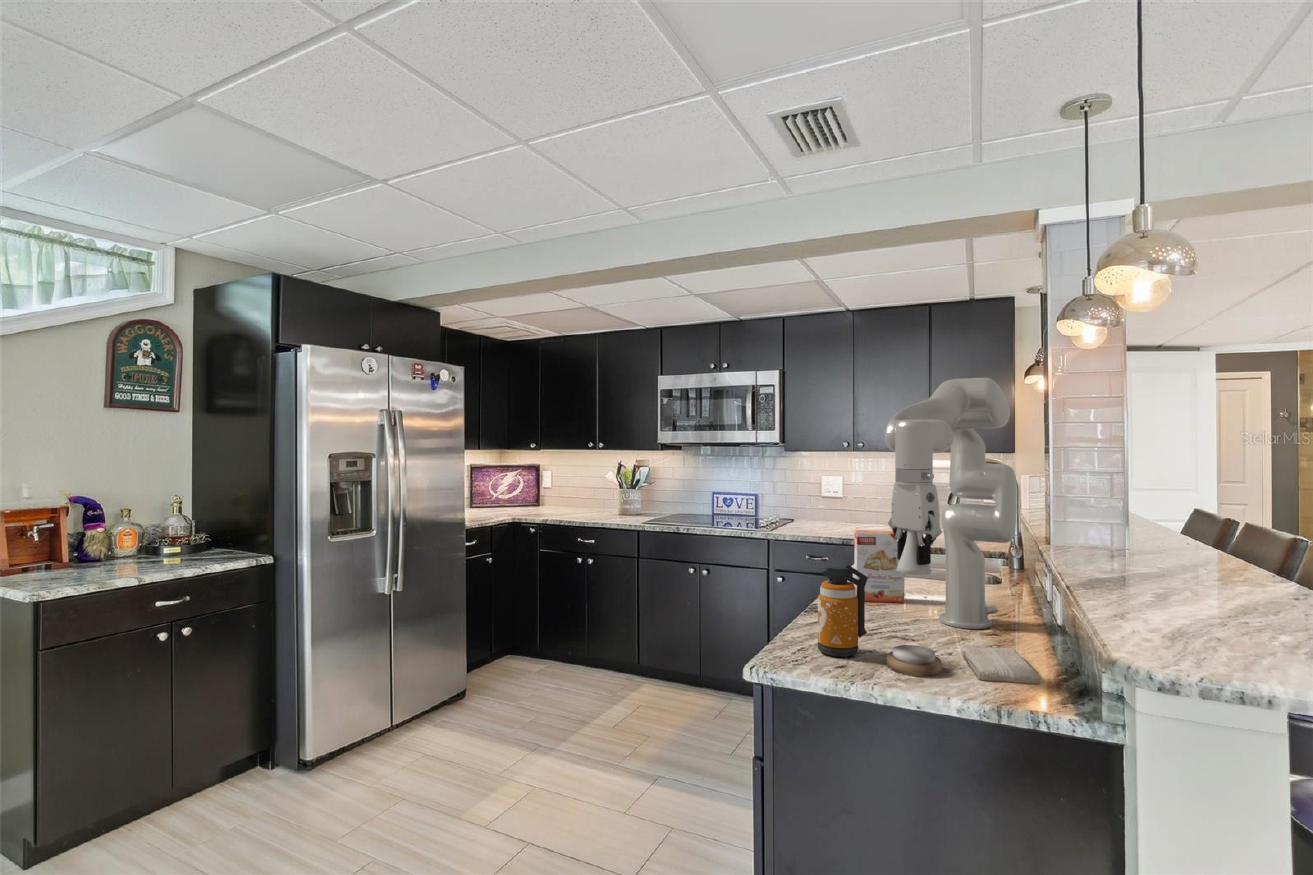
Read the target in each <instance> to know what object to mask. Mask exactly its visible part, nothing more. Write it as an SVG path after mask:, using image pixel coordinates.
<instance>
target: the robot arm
mask: <svg viewBox="0 0 1313 875" xmlns="http://www.w3.org/2000/svg"><path fill="white" fill-rule="evenodd" d="M1010 417H1011V407H1010V404H1009V401H1008V399H1007V397H1006V395H1005V393H1004V391H1003V389H1002V388H1001V387H1000V385H999V384H998V383H997V382H996V381H995V380H994V379H992V378H989V377H971V378H970V377H968V378H963V377H962V378H952V379H948V380H944V381H943V382H942V383H940V385H939V386H937V388H936V390H934V392H933V393H932V394H931V395H930V397H929V398H928V399H925V400H922V401H920V402H917V403H915V404H911V405H909V406H906V407H904V408H901V409H900V410H899V411H897V412H896V413H895V414H894V415H893V416H892V418H890V420H889V421H888V423H887V425H886V428H885V430H884V442H885V445H886V447H887V449H889V450H890V451H891V452H894V453H895V456H894V457H895V458H894V460H895V463H894V464H895V465H894V467H895V470H894V471H895V474H894V476H895V478H894V479H895V480H894V481H895V482H894V485H893V490H892V498H891V515H890V516H891V517H890V519H889V520H888V522H887V525H888V526H889V528H890V529H891V531H893V533H894V535H895V540H896V541H897V559H898V560H900V558H901V556H902V553H903V550H904V547H905V544H906V539H907V530H911V531H916V532H917V537H918V541H919V545H920V546H917V564H918V565H926V564H929V565H931V562H932V558H931V557H932V556H931V555H932V554H931V553H932V552H931V549H932V548H931V546H933V545H934V542H935V541H936V540H937V538H938V537H939V536H940V535H941V534H943V537H944V547H945V548H944V549H945V612H942V613H941V614H939V616H938V619H939V621H940V622H941V623H942V624H944V625H947V626H951V627H954V628H960V629H968V630H969V629H971V630H980V629H981V630H982V629H988V628H990V627H991V626H992V620H991V619H990V618H988V616H989V615H992V614H997V613H999V612H998V611H999V609H998V607H997V606H995V605H993V606H988V605H986V600H985V599H986V592H985V591H986V588H985V587H986V559H985V555H984V553H983V551H982V550H981V549H980V547H979V546H978V544H977V543H976V542H986V543H999V544H1000V543H1001V544H1006V543H1010V542H1012V541H1013V539H1014V537H1015V534H1016V527H1017V526H1016V525H1017V493H1018V492H1017V490H1018V489H1017V485H1018V484H1017V483H1018V482H1017V476H1016V472H1015V470H1014V469H1013V467H1012V466H1010V465H1007V464H1004V463H987V462H986V444H985V442H984V439H983V438H982V437H981V435H979V433H978V432H977V431H976V430H975V429H1000V428H1003V427H1005V426H1006V425H1007V424H1008V423H1009V420H1010ZM949 449H950V460H949V461H950V463H949V490H950V492H951V494H952V495H953V496H954V497H956V498H961V499H968V500H969V499H972V500H987V501H994V502H995V505H992V504H991V505H990V504H989V505H988V504H979V503H978V504H977V503H963V502H962V503H952V504H950V505H947V506H946V507H945V508H944V509H943V511H942V514H941V517H940V503H939V502H940V501H939V496H938V490H937V487H936V484H933V483H934V482H933V481H934V478H935V474H934V473H933V472H934V469H933V467H934V464H933V463H934V462H933V461H934V458H933V457H934V454H941V453H945V452H947V451H948V450H949ZM940 519H941V520H940ZM940 521H941V522H940ZM941 523H942V524H941ZM940 524H941V525H942V529H941V527H940ZM924 535H925V536H924Z"/></svg>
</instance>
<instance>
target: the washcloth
mask: <svg viewBox="0 0 1313 875" xmlns="http://www.w3.org/2000/svg"><path fill="white" fill-rule="evenodd" d="M961 655H962V658H963V661H964V662H965V663H966V665H967V667H968V668H969V670H971V672H972V673H973V675H974V677H975V678H976V679H977V680H979V681H980V680H981V681H985V682H987V681H988V682H1006V683H1014V684H1015V683H1016V684H1026V685H1027V684H1028V685H1029V684H1033V685H1037V684H1039V683H1040V678H1039V674H1037V672H1036V671H1035V670H1034V669H1033V668H1032V667H1031V665H1029V664H1028V662H1027V661H1026V660H1025V659H1024V658H1023V657H1022V656H1021V654H1020V653H1019V652H1018V651H1017V650H1016V649H1014V648H1011V647H1000V648H999V647H989V646H988V647H987V646H982V645H981V646H980V645H962V646H961Z"/></svg>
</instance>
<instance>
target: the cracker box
mask: <svg viewBox="0 0 1313 875" xmlns="http://www.w3.org/2000/svg"><path fill="white" fill-rule="evenodd" d="M853 561H854V564H853V566H854V567H853V568H854V569H856V570H857V571H859V572H860V573H862V574H864V575H865V576H866V577H868V579H867V582H866V585H865V602H873V603H874V602H876V603H877V602H878V603H879V602H880V603H897V604H898V603H900V604H904V603H905V573H900V572H898V571H896V569H897V566H898V563H899V561H900V560H898V559H897V541H896V540H895V535H894V533H893V530H877V529H874V530H873V529H872V530H870V529H855V530H854V560H853ZM853 577H854V578H856V579H858V580H859V579H860V578H859V577H858V576H856V575H855V574H853ZM854 586H855V588H856V597H857V585H855V584H854Z"/></svg>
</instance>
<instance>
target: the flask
mask: <svg viewBox="0 0 1313 875" xmlns="http://www.w3.org/2000/svg"><path fill="white" fill-rule="evenodd" d="M917 546H920V545H919V541H918V537H917V532H916V531H911V530H907V539H906V544H905V547H904V550H903V553H902V556H901V558H900V561H899V563H898V566H897V569H896V571H898V572H900V573H905V574H907V575H914V576H915V575H916V576H917V575H918V576H919V575H923V576H924V575H930V574H931V573H932V570H931V569H932V568H931V567H930V564H926V565H918V564H917Z"/></svg>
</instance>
